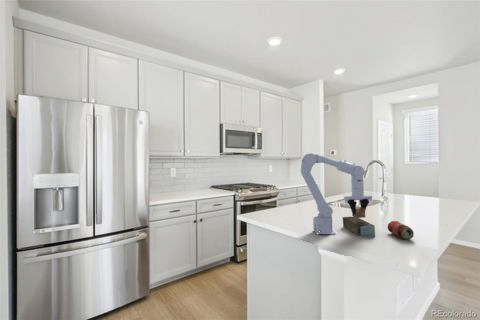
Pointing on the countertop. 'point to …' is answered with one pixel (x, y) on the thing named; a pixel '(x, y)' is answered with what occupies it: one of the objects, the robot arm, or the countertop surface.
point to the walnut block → (359, 212)
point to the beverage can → (400, 230)
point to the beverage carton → (359, 226)
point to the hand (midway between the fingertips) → (358, 213)
